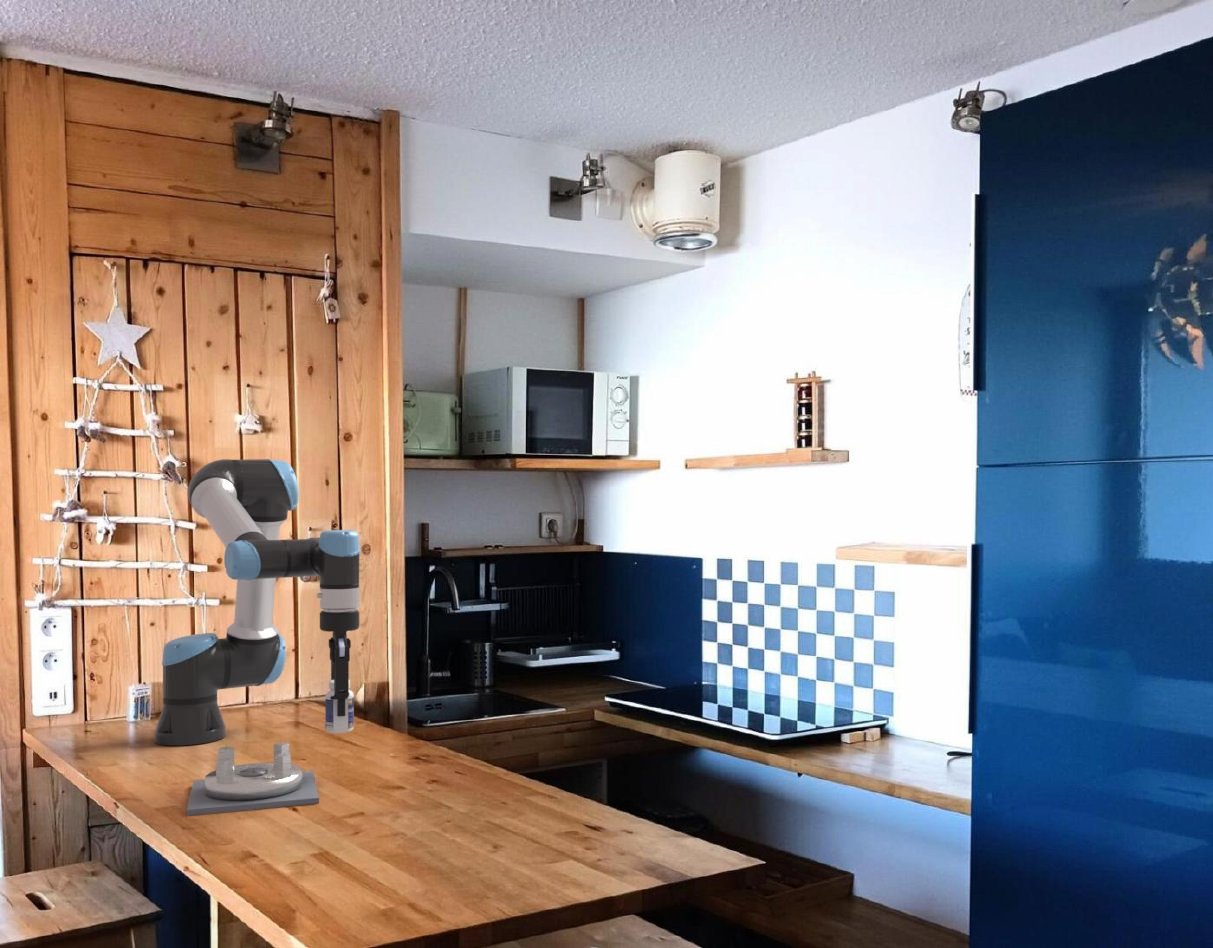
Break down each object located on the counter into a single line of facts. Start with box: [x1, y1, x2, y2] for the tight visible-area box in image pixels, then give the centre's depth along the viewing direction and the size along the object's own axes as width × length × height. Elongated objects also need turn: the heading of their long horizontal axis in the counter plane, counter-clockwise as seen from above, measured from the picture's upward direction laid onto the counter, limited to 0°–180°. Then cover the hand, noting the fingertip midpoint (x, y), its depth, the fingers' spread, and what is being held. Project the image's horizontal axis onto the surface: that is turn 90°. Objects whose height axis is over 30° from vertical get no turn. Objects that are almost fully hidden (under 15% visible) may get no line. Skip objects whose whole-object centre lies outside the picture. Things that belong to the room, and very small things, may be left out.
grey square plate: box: [186, 770, 320, 817], centre depth 202 cm, size 21×22×1 cm
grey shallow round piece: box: [204, 742, 303, 800], centre depth 202 cm, size 17×17×6 cm
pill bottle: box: [324, 679, 355, 734], centre depth 214 cm, size 5×5×10 cm
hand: (339, 728), depth 214 cm, fingers closed on pill bottle, 5 cm apart
